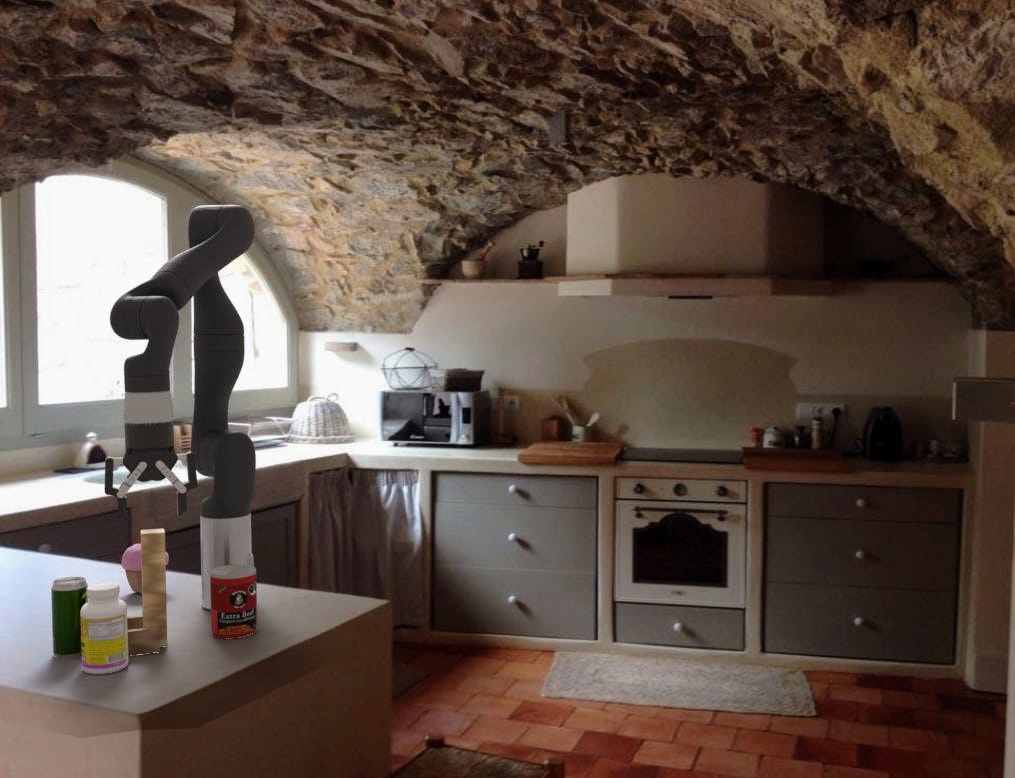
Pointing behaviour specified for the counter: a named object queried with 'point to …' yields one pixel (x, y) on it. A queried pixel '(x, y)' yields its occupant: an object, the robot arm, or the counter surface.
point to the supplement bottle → (104, 630)
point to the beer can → (68, 615)
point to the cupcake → (135, 566)
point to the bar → (154, 581)
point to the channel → (141, 637)
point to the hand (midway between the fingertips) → (152, 517)
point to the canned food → (233, 601)
